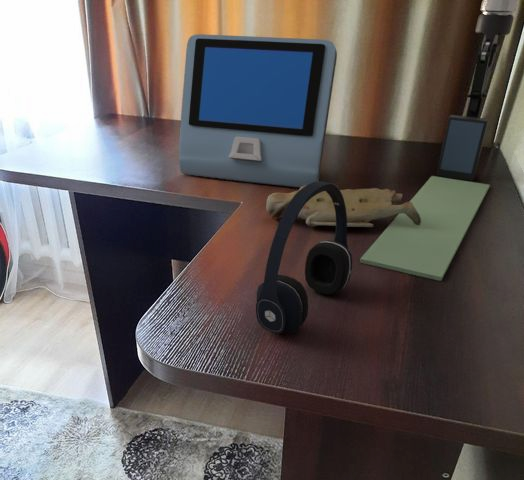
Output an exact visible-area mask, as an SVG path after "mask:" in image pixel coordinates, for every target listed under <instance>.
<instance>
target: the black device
mask: <svg viewBox="0 0 524 480" xmlns="http://www.w3.org/2000/svg"><path fill="white" fill-rule="evenodd" d="M489 123H490V118H484V117H478V118H476V117H466V115H456V114H451V115H448V118H447V123H446V126H445V127H446V128H445V132H444V137H443V142H442V146H441V150H440V156H439V160H438V165H437V170H436V175H435V176H436V177H442V178H449V179H455V180H462V181H468V182H473V181H474V179H475V178H476V173H477V169H478V166H479V161H480V157H481V153H482V150H483V147H484V146H483V145H484V142H485V138H486V134H487V130H488V126H489Z"/></svg>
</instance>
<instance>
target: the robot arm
mask: <svg viewBox="0 0 524 480" xmlns="http://www.w3.org/2000/svg"><path fill="white" fill-rule="evenodd" d="M518 4H519V0H482V1H481V5H480V9H479V10H480V12H482V13H481V14H479V15H478V17H477V22H476V25H475V33H476V34H477V35H483V36H484V37H483V41H482V42H481V43H479V45H478V49H477V56H476V57H477V58H476V63H475V68H474V74H473V79H472V83H471V84H472V85H471V89H470V92H469V93H468V94H467V98H469V103H468V106H467V110H466V115H465V116H466V117H476V118H479V116H480V112H481V107H482V103H483V99H484V98H487V96H488V94H487V93H486V92H487V86H488V84H489V79H490V76H491V73H492V68H493V65H494V63H495V60H496V56H497V53H498V51H499V48H500V43H498V40H499V36H509V34H511V31H512V26H513V23H514V19H515V17H514V15H513V13H515V12H516V11H517V8H518Z"/></svg>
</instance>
